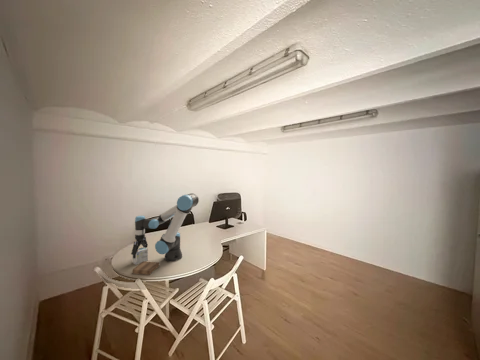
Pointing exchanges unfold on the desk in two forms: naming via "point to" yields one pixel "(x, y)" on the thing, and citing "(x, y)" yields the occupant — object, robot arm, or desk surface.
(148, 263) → the block
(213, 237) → the desk surface
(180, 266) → the desk surface
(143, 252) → the light bulb box
